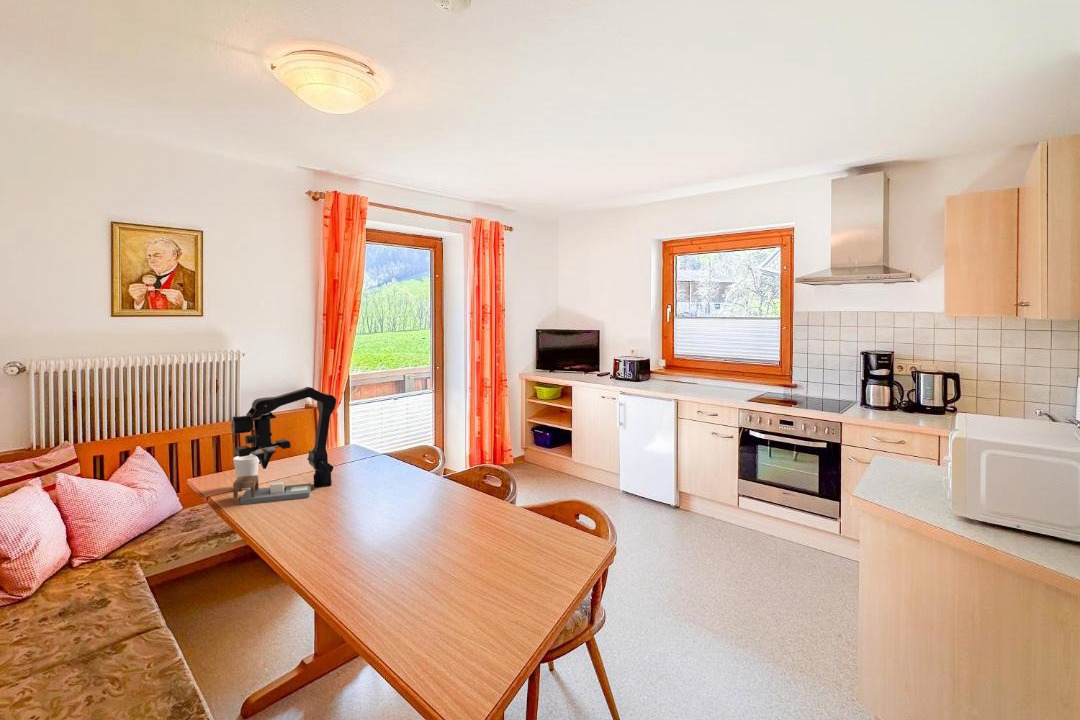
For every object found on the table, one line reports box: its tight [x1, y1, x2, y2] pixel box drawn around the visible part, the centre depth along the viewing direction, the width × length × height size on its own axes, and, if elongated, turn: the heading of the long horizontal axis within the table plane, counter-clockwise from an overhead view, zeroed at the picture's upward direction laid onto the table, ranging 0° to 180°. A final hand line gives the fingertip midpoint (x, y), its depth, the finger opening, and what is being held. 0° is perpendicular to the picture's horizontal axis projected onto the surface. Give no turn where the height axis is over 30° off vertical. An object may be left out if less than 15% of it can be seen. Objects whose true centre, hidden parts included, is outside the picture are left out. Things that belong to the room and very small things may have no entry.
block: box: [269, 480, 286, 494], centre depth 197 cm, size 4×4×6 cm
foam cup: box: [232, 453, 260, 490], centre depth 207 cm, size 10×9×13 cm
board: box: [240, 483, 313, 506], centre depth 197 cm, size 24×12×2 cm, turn 111°
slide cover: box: [232, 474, 259, 500], centre depth 193 cm, size 7×9×6 cm
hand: (264, 468), depth 195 cm, fingers closed
